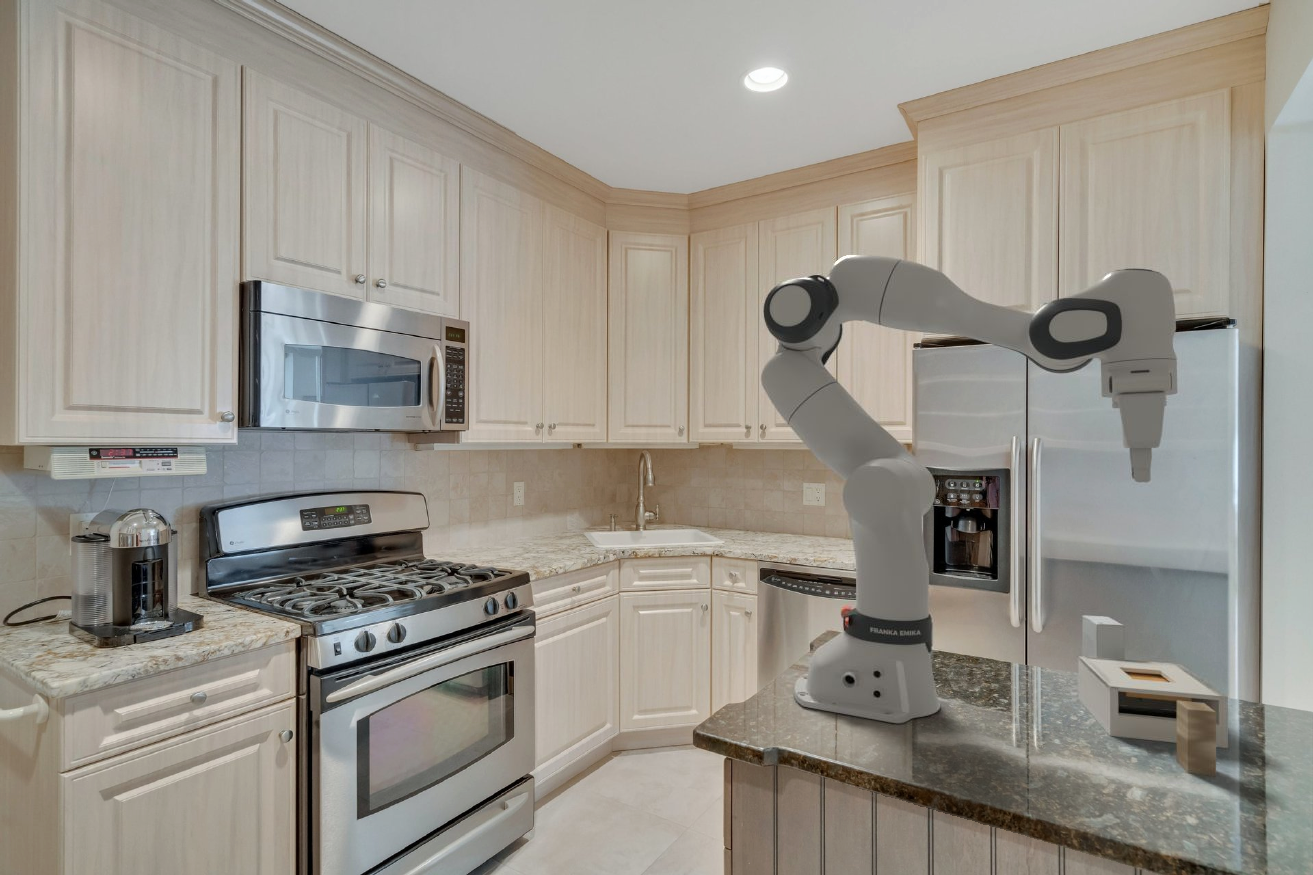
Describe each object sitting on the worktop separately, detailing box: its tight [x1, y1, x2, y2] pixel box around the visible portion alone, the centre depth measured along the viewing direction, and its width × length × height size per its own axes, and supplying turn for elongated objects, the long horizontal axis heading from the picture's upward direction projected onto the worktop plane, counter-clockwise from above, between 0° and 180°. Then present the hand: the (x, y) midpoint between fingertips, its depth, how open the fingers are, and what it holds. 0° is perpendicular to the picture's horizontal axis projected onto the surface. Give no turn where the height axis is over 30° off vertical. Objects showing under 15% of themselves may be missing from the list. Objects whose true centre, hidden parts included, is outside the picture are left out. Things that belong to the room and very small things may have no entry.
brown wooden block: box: [1176, 701, 1217, 777], centre depth 87 cm, size 3×3×8 cm
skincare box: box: [1081, 615, 1125, 660], centre depth 113 cm, size 6×4×12 cm
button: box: [1122, 672, 1191, 703], centre depth 101 cm, size 8×8×3 cm
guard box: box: [1077, 655, 1229, 749], centre depth 101 cm, size 14×14×7 cm
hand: (1140, 480), depth 96 cm, fingers open, 8 cm apart
